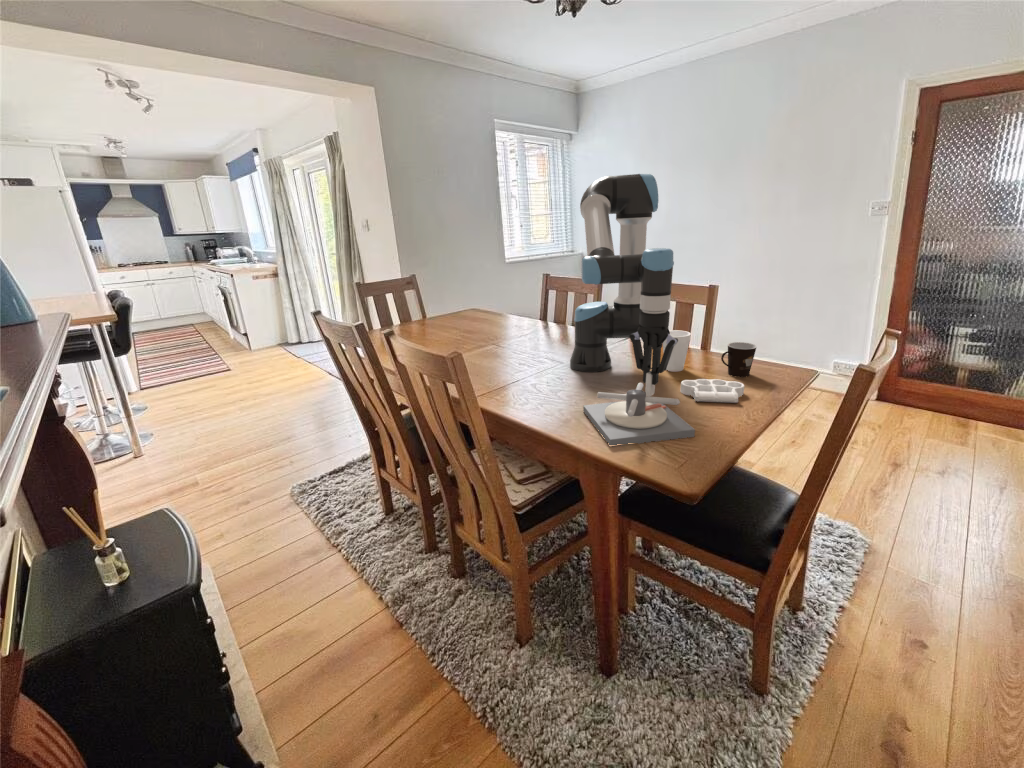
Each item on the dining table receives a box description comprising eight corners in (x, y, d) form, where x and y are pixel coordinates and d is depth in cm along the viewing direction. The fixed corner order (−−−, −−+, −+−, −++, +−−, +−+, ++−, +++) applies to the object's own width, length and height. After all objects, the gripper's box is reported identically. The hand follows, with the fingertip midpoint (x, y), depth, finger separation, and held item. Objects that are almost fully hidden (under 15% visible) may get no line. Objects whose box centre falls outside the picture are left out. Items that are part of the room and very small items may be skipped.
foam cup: (693, 369, 162) (696, 333, 158) (676, 374, 157) (679, 338, 153) (670, 363, 169) (673, 328, 165) (654, 368, 165) (656, 333, 160)
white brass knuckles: (683, 403, 135) (678, 386, 148) (749, 406, 131) (738, 388, 144) (684, 393, 134) (679, 376, 147) (751, 395, 130) (740, 378, 143)
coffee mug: (746, 369, 158) (750, 341, 155) (756, 378, 150) (761, 348, 147) (711, 370, 160) (714, 342, 156) (720, 378, 152) (723, 349, 148)
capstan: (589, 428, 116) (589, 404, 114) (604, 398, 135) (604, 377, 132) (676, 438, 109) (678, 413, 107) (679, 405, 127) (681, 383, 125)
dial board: (583, 411, 132) (583, 404, 131) (655, 403, 135) (655, 396, 134) (609, 446, 112) (610, 438, 111) (694, 436, 114) (695, 428, 113)
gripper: (685, 310, 117) (678, 395, 126) (638, 305, 126) (634, 385, 134) (672, 315, 112) (666, 404, 120) (625, 310, 121) (622, 393, 129)
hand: (649, 394), depth 127 cm, fingers closed
